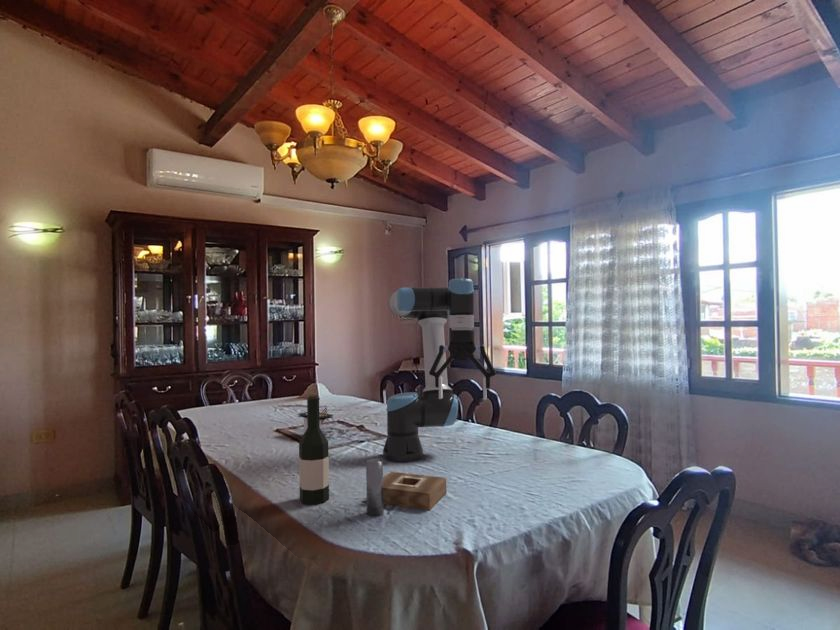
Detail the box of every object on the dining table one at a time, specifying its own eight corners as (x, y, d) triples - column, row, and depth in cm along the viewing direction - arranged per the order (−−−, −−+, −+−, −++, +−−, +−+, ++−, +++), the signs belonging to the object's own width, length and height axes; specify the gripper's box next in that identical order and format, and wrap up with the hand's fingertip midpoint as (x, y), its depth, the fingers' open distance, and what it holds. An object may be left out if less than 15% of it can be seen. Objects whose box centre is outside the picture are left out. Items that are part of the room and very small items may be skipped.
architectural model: (366, 437, 223) (366, 404, 223) (315, 450, 202) (315, 415, 202) (315, 426, 246) (315, 397, 246) (264, 438, 224) (264, 406, 224)
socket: (370, 501, 144) (370, 485, 144) (391, 486, 157) (391, 471, 157) (429, 510, 138) (429, 492, 138) (446, 493, 151) (446, 477, 151)
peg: (363, 515, 135) (363, 462, 135) (371, 509, 139) (370, 458, 139) (378, 517, 133) (378, 464, 133) (386, 511, 137) (385, 459, 137)
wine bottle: (301, 495, 150) (300, 393, 150) (330, 494, 151) (329, 393, 151) (297, 506, 142) (296, 398, 142) (327, 504, 143) (326, 397, 143)
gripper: (419, 329, 155) (420, 399, 155) (502, 329, 150) (503, 401, 149) (424, 329, 162) (425, 396, 162) (503, 328, 157) (504, 397, 157)
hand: (462, 398), depth 156 cm, fingers open, 13 cm apart
